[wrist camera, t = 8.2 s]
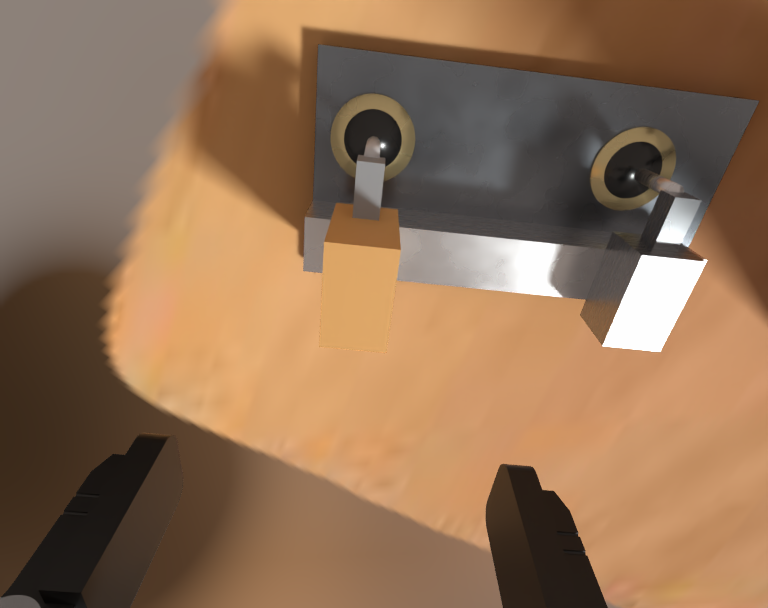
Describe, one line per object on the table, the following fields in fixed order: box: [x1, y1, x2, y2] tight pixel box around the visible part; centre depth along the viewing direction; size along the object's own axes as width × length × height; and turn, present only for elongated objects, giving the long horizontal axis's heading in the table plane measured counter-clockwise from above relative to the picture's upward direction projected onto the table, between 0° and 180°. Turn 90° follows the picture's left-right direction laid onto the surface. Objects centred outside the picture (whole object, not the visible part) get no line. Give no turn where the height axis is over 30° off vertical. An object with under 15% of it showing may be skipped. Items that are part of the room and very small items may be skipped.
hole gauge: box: [303, 44, 759, 351], centre depth 23 cm, size 22×12×7 cm, turn 84°
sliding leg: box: [319, 136, 401, 353], centre depth 21 cm, size 3×8×7 cm, turn 174°
